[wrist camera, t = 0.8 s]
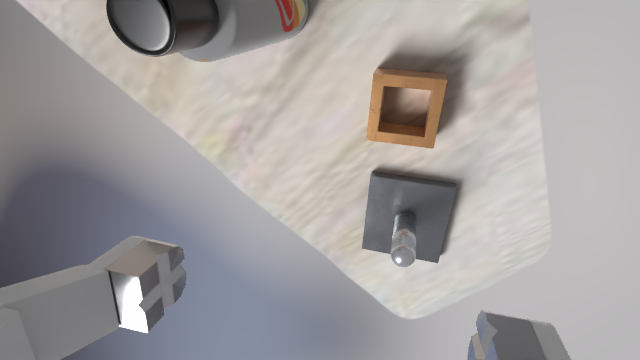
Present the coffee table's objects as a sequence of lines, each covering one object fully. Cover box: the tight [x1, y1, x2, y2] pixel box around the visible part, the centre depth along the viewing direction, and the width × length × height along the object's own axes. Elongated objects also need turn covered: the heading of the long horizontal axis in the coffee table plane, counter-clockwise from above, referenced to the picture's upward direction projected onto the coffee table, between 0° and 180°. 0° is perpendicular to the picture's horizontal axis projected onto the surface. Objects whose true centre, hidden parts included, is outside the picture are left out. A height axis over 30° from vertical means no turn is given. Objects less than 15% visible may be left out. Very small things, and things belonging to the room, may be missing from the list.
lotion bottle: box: [106, 0, 308, 62], centre depth 25 cm, size 6×6×20 cm
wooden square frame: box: [366, 68, 447, 148], centre depth 33 cm, size 6×6×3 cm
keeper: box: [362, 172, 457, 267], centre depth 37 cm, size 10×9×8 cm
